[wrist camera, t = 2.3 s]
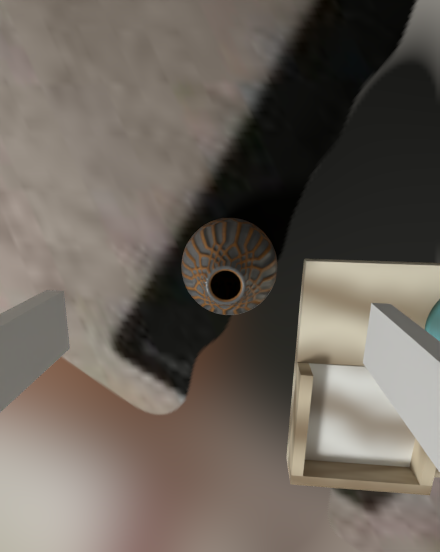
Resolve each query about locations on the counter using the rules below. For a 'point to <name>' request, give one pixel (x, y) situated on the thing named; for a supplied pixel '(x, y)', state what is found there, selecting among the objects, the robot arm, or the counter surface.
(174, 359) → the counter surface
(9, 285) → the counter surface
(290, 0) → the counter surface
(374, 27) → the counter surface
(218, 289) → the vase
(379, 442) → the jig board
